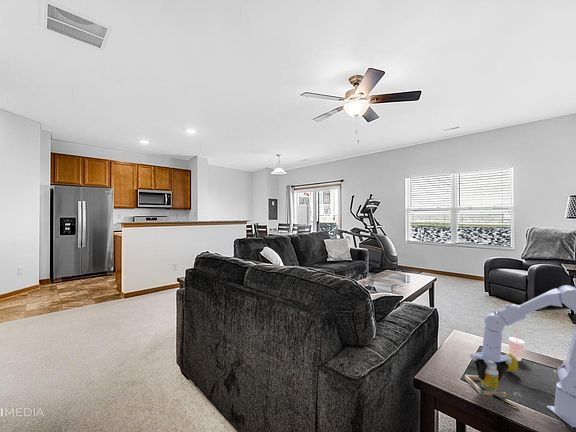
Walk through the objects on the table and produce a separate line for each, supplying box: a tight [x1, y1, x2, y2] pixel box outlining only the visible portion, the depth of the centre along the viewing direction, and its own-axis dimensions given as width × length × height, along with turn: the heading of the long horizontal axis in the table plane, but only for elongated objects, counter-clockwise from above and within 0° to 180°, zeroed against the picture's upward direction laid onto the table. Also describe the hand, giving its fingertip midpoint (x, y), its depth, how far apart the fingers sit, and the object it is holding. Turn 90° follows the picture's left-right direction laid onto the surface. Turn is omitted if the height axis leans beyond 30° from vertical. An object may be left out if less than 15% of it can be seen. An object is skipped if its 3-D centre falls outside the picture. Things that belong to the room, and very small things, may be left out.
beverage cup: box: [508, 329, 526, 362], centre depth 133 cm, size 6×6×14 cm
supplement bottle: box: [480, 361, 499, 392], centre depth 107 cm, size 5×5×10 cm
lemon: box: [503, 353, 519, 373], centre depth 120 cm, size 6×6×8 cm
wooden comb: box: [480, 387, 518, 408], centre depth 101 cm, size 14×1×2 cm, turn 30°
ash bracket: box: [463, 374, 507, 398], centre depth 107 cm, size 11×9×2 cm
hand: (488, 379), depth 107 cm, fingers open, 6 cm apart
